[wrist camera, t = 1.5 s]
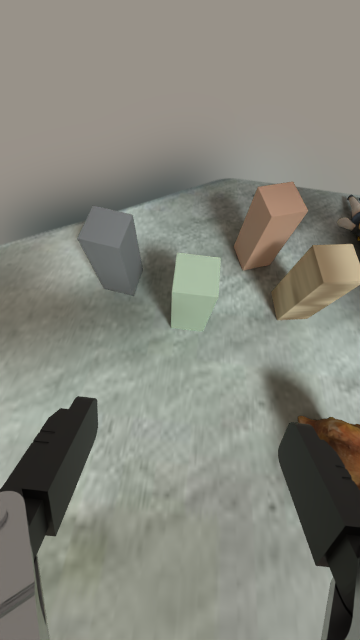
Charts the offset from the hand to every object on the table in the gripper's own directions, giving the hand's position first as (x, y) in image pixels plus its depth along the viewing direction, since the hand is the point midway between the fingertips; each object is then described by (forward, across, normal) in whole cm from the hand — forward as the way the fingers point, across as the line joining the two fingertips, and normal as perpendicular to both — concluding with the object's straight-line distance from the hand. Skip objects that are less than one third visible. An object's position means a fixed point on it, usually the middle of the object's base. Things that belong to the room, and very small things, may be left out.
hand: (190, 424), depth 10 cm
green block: (+21, 0, +4) cm, 21 cm away
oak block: (+23, -13, +2) cm, 27 cm away
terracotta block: (+28, -8, -3) cm, 29 cm away
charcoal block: (+24, +9, +1) cm, 25 cm away
